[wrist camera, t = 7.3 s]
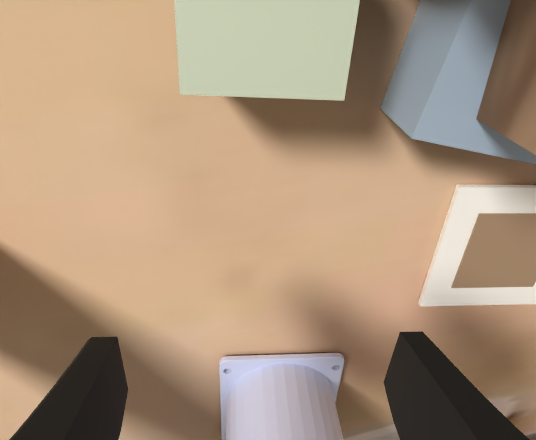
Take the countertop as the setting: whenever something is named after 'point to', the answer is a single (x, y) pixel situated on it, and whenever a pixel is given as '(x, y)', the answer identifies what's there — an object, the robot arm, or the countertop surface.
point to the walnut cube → (514, 78)
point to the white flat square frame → (485, 249)
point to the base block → (450, 77)
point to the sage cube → (265, 47)
